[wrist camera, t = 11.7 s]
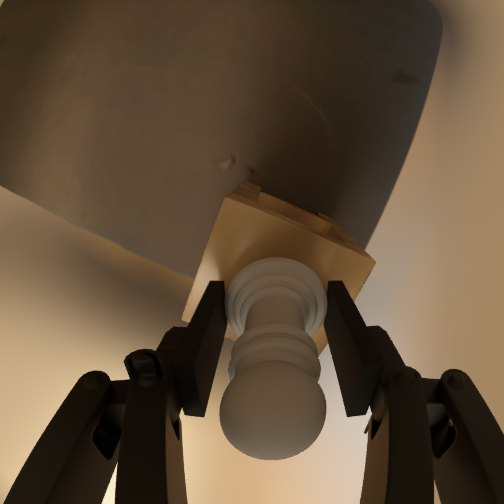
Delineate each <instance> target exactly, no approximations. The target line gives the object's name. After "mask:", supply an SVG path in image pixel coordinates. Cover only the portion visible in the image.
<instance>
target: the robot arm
mask: <svg viewBox="0 0 504 504" xmlns="http://www.w3.org/2000/svg"><path fill="white" fill-rule="evenodd" d="M224 298H225V285H224V281H209V283H208V285H207V287H206V289H205V291H204V293H203V295H202V297H201V300H200V302H199V304H198V306H197V308H196V310H195V312H194V314H193V316H192V318H191V320H190V322H189V325H188V327H173V328H171V329H170V330H169V331H167V332H166V333H165V335H164V337H163V339H162V342H160V344H159V346H158V348H157V349H156V351H154V350H152V349H141V350H136V351H134V352H132V353H130V354H129V355H128V356H126V358H125V360H124V364H125V367H126V369H127V372H128V375H129V377H130V379H128V380H116V381H111V380H110V378H109V376H108V375H107V374H106V373H105V372H102V371H91V372H88V373H86V374H84V375H83V376H82V377H80V378H79V380H78V381H77V383H76V384H75V386H74V387H73V389H72V390H71V391H70V393H69V394H68V396H67V397H66V399H65V400H64V401H63V403H62V404H61V406H60V408H59V409H58V411H57V412H56V414H55V415H54V417H53V418H52V420H51V421H50V423H49V424H48V426H47V427H46V429H45V431H44V432H43V434H42V435H41V437H40V439H39V440H38V442H37V443H36V445H35V447H34V449H33V450H32V452H31V453H30V455H29V457H28V459H27V461H26V462H25V464H24V466H23V467H22V469H21V471H20V473H19V475H18V476H17V478H16V480H15V482H14V484H13V485H12V487H11V489H10V491H9V493H8V495H7V497H6V499H5V501H4V503H3V504H101V503H102V501H103V498H104V496H105V493H106V490H107V487H108V485H109V483H110V480H111V477H112V474H113V472H114V470H115V467H116V464H117V462H118V465H117V476H116V490H115V504H187V494H186V484H185V473H184V461H183V447H182V428H181V420H180V417H179V414H180V411H181V409H182V408H183V411H184V414H185V415H188V416H196V417H204V416H205V412H206V407H207V404H208V400H209V396H210V392H211V388H212V384H213V380H214V376H215V372H216V368H217V364H218V360H219V356H220V352H221V348H222V345H223V341H224V337H225V333H226V329H227V317H226V314H225V307H224ZM327 299H328V302H327V311H326V316H325V319H324V324H323V326H324V329H325V333H326V336H327V340H328V344H329V347H330V351H331V355H332V359H333V362H334V366H335V370H336V374H337V378H338V382H339V386H340V390H341V394H342V398H343V402H344V406H345V411H346V415H347V417H352V416H360V415H366V413H367V410H368V408H369V405H370V408H371V412H372V415H371V418H370V420H369V422H368V424H367V426H366V429H365V432H364V433H367V432H368V444H367V454H366V463H365V472H364V480H363V486H362V493H361V499H360V504H434V480H435V484H436V487H437V490H438V494H439V497H440V501H441V504H504V434H503V432H502V431H501V429H500V427H499V425H498V423H497V421H496V420H495V418H494V416H493V414H492V413H491V411H490V409H489V408H488V406H487V404H486V403H485V401H484V399H483V398H482V396H481V394H480V393H479V391H478V390H477V388H476V387H475V385H474V384H473V382H472V380H471V379H470V377H469V376H468V375H467V374H466V373H464V372H463V371H461V370H457V369H449V370H447V371H445V372H444V373H443V374H442V376H441V378H440V379H428V378H422V377H421V375H420V373H419V372H418V371H416V370H415V369H413V368H411V367H408V366H406V365H405V364H404V362H403V360H402V358H401V356H400V355H399V353H398V351H397V349H396V347H395V346H394V344H393V342H392V340H390V337H389V335H388V334H387V332H386V331H385V330H383V329H382V328H381V327H380V326H366V324H365V322H364V321H363V318H362V317H361V315H360V313H359V311H358V309H357V307H356V305H355V303H354V301H353V299H352V298H351V296H350V294H349V292H348V290H347V288H346V286H345V285H344V283H343V281H342V280H334V281H328V287H327ZM450 420H451V421H452V423H451V421H450ZM452 424H453V425H452Z"/></svg>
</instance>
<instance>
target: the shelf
mask: <svg viewBox="0 0 504 504" xmlns="http://www.w3.org/2000/svg"><path fill="white" fill-rule="evenodd" d="M260 190H261V187H259V186H257V185H254V184H252V183H249V182H247V181H245V182H244V183H243V184H241V185H240V186H239V187H238V188H236V189H235V190H234V191H233V192H231V193H230V194H228V195H227V196H226V197H225V198H224V201H223V204H222V206H221V209H220V211H219V214H218V217H217V219H216V222H215V225H214V227H213V230H212V233H211V235H210V238H209V241H208V244H207V246H206V249H205V252H204V255H203V257H202V260H201V263H200V266H199V269H198V272H197V274H196V277H195V280H194V283H193V286H192V289H191V292H190V295H189V298H188V301H187V304H186V307H185V310H184V313H183V316H182V320H184V321H186V322H188V323H189V322H190V320H191V318H192V316H193V314H194V312H195V310H196V308H197V306H198V304H199V302H200V300H201V297H202V295H203V293H204V291H205V289H206V287H207V285H208V283H209V281H224V285H225V293H226V290H227V287H228V285H229V283H230V282H231V280H232V279H233V277H234V276H235V275H236V274H237V273H238V272H239V271H240V270H242V269H243V268H244V267H246V266H247V265H249V264H251V263H253V262H255V261H258V260H261V259H265V258H273V257H281V258H288V259H292V260H295V261H298V262H300V263H302V264H304V265H306V266H307V267H309V268H310V269H311V270H312V271H314V272H315V273H316V274H317V275H318V277H319V278H320V279H321V281H322V282H323V285H324V287H325V289H326V293H327V287H328V281H334V280H342V281H343V283H344V285H345V286H346V288H347V290H348V292H349V294H350V296H351V298H352V299H353V301H355V299H356V297H357V296H358V294H359V292H360V290H361V289H362V287H363V285H364V284H365V282H366V280H367V278H368V276H369V275H370V273H371V271H372V269H373V267H374V265H375V263H376V262H375V261H374V259H373V258H371V256H370V255H369V254H367V253H366V251H365V250H364V249H363V248H362V247H361V246H360V245H359V244H358V243H357V242H356V241H355V240H354V239H353V238H352V237H351V236H350V235H349V234H348V233H347V232H346V231H345V230H344V229H343V228H342V227H340V226H339V225H338V224H337V223H336V222H335V221H334V220H333V219H332V218H330V217H328V216H326V215H324V214H322V213H319V212H318V213H317V215H315V214H312V213H310V212H308V211H306V210H303V209H301V208H299V207H297V206H294V205H292V204H290V203H287V202H285V201H283V200H280V199H278V198H276V197H273V196H271V195H268V194H266V193H264V192H261V191H260ZM323 324H324V321H323V323H322V325H321V326H320V328H319V329H318V331H317V332H316V333H315V334H314V335H313V336H312V337H311V338H312V339H313V341H314V342H315V344H316V347H317V351H318V357H319V355H320V354H321V352H322V351H323V349H324V348H325V346H326V345H327V343H328V340H327V336H326V333H325V329H324V326H323ZM225 337H226V338H229V339H232V340H234V341H237V339H238V338H239V336H238V335H237V334H236V333H235V332H234V331H233V329H232V328H231V326H230V325H229V322H228V320H227V329H226V333H225Z"/></svg>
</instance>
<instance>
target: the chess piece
mask: <svg viewBox="0 0 504 504" xmlns="http://www.w3.org/2000/svg"><path fill="white" fill-rule="evenodd" d="M327 302H328V299H327V293H326V289H325V287H324V285H323V282H322V281H321V279H320V278H319V277H318V275H317V274H316V273H315V272H314V271H312V270H311V269H310V268H309V267H307V266H306V265H304V264H302V263H300V262H298V261H295V260H292V259H288V258H281V257H273V258H265V259H261V260H258V261H255V262H253V263H251V264H249V265H247V266H246V267H244V268H243V269H242V270H240V271H239V272H238V273H237V274H236V275H235V276H234V277H233V279H232V280H231V282H230V283H229V285H228V287H227V290H226V293H225V298H224V307H225V314H226V317H227V320H228V322H229V325H230V326H231V328H232V329H233V331H234V332H235V333H236V334H237V335H238V336H239V338H238V339H237V341H236V342H235V344H234V346H233V349H232V355H231V356H232V357H231V358H232V359H231V360H230V363H229V368H228V372H229V377H230V381H231V382H230V383H229V385H228V386H227V388H226V390H225V392H224V394H223V397H222V400H221V404H220V422H221V427H222V430H223V432H224V434H225V436H226V438H227V439H228V441H229V442H230V443H231V444H232V445H233V446H234V447H235V448H236V449H238V450H239V451H241V452H242V453H244V454H246V455H248V456H251V457H254V458H257V459H263V460H280V459H285V458H289V457H292V456H295V455H297V454H299V453H301V452H303V451H304V450H306V449H307V448H308V447H309V446H310V445H311V444H313V442H314V441H315V440H316V439H317V437H318V436H319V434H320V432H321V430H322V428H323V425H324V422H325V418H326V400H325V396H324V393H323V391H322V389H321V387H320V385H319V384H318V380H319V377H320V371H321V366H320V362H319V359H318V351H317V347H316V344H315V342H314V341H313V339H312V338H311V337H312V336H313V335H314V334H315V333H316V332H317V331H318V329H319V328H320V326H321V325H322V323H323V321H324V319H325V316H326V311H327Z"/></svg>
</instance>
